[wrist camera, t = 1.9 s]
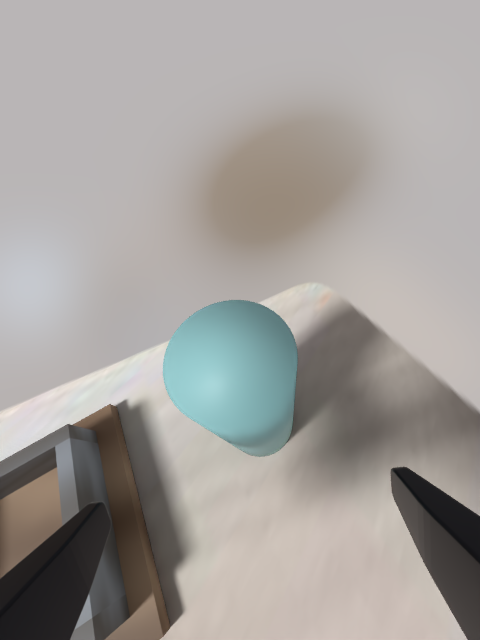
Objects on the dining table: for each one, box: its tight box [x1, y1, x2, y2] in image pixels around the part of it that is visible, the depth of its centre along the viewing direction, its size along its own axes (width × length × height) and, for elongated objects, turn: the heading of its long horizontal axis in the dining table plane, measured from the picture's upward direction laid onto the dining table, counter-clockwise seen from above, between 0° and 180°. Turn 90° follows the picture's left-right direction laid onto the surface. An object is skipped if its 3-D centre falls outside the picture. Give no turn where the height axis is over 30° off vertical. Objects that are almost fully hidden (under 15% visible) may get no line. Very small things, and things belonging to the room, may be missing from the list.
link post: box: [163, 300, 298, 457], centre depth 14 cm, size 5×5×12 cm
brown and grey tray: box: [0, 404, 170, 640], centre depth 15 cm, size 14×14×4 cm
